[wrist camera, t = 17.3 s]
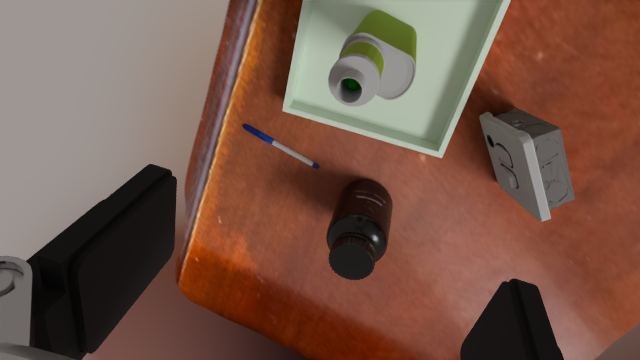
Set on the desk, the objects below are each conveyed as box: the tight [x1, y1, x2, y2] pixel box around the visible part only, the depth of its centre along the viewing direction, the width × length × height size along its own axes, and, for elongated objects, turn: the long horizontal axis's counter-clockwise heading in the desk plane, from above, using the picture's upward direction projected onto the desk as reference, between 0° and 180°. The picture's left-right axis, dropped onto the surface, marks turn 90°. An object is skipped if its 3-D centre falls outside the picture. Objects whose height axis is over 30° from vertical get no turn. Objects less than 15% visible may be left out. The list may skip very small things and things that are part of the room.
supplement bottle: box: [326, 180, 392, 280], centre depth 47 cm, size 7×7×12 cm
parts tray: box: [282, 0, 511, 158], centre depth 41 cm, size 20×18×3 cm
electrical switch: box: [479, 108, 575, 222], centre depth 41 cm, size 9×5×9 cm, turn 24°
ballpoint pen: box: [243, 124, 319, 169], centre depth 51 cm, size 10×1×1 cm, turn 64°
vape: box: [328, 10, 417, 107], centre depth 33 cm, size 4×6×20 cm, turn 66°
